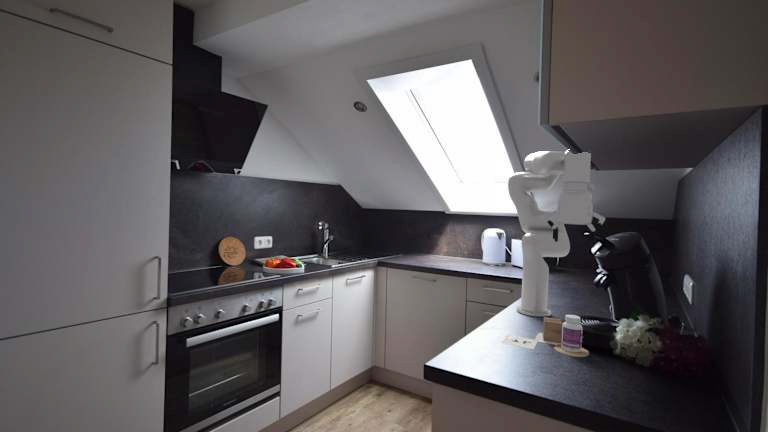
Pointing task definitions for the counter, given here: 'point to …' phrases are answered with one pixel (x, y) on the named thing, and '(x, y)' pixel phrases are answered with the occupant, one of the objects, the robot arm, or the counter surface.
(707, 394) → the counter surface
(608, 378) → the counter surface
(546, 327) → the walnut block
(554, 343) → the tile block
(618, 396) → the counter surface
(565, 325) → the pill bottle
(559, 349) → the cork coaster
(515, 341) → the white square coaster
